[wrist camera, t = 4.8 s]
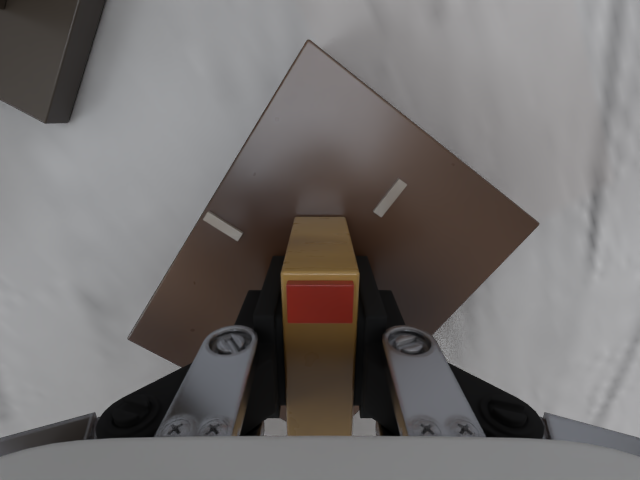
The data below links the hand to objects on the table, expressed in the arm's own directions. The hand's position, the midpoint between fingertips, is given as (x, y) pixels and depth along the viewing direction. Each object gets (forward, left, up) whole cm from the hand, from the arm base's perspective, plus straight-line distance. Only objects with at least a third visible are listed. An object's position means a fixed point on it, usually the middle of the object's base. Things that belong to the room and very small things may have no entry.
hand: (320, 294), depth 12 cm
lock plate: (0, 0, -3) cm, 3 cm away
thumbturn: (0, 0, -1) cm, 1 cm away
